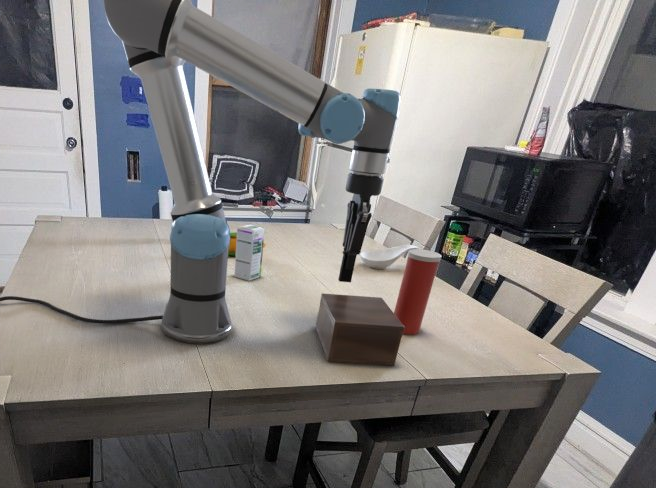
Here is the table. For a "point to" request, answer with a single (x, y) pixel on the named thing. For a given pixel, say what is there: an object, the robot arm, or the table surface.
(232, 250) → the corn
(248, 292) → the table surface
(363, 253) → the spoon rest
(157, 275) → the table surface
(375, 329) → the cabinet
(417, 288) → the crisps tube
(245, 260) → the syrup box
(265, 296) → the table surface
